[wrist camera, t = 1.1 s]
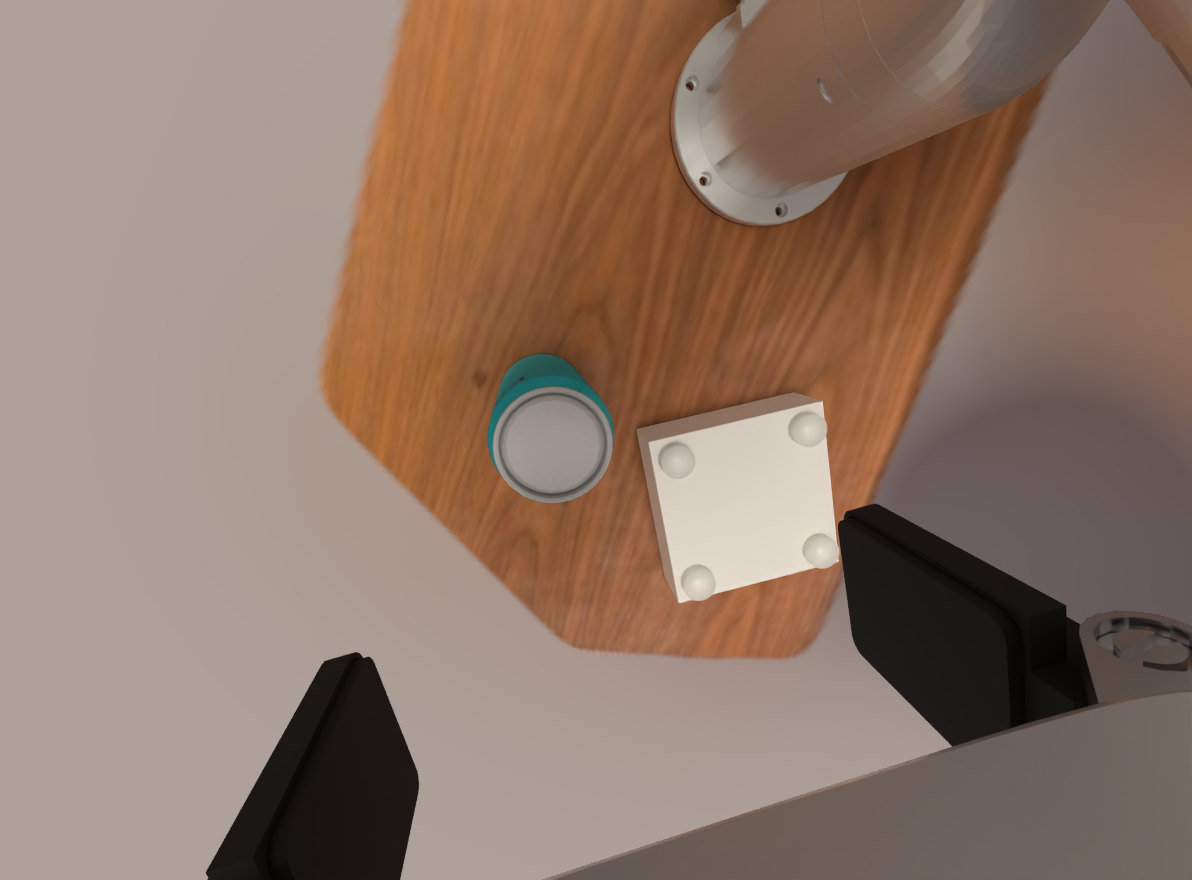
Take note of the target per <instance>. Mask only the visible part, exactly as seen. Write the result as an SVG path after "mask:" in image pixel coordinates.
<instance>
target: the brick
mask: <svg viewBox="0 0 1192 880" xmlns="http://www.w3.org/2000/svg"><path fill="white" fill-rule="evenodd" d="M636 431H637V436H638V441H639V446H640V452H641V457H642V462H643V467H644V472H645V477H646V483H647V488H648V493H649V498H650V503H651V509H652V514H653V519H654V524H655V529H656V535H657V540H658V545H659V550H660V555H661V560H662V566H663V571H664V576H665V578H666V580H667V582H668V584H669V586H670V588H671V589H672V591H673V593H674V595H675V597H676V599H677V601H678V603H682V602H686V601H689V600H695V601H702V600H705V599H707V598H709V597H710V596H711V595H712V594H716V593H720V592H724V591H728V590H732V589H735V588H739V587H743V586H747V585H751V584H755V583H758V582H762V581H766V580H770V579H774V578H778V577H781V576H785V575H789V574H793V573H797V572H801V571H804V570H808V569H812V568H820V569H824V568H828V567H830V566H832V565H833V564H834V563H835V562H839V560H838V556H839V547H838V545H837V540H836V530H835V520H834V510H833V500H832V490H831V480H830V470H829V460H828V450H827V440H826V434H827V424H826V422H825V420H824V410H823V401H821V400H818V399H814V398H811V397H808V396H805V395H802V394H799V393H795V392H792V393H788V394H783V395H779V396H775V397H771V398H766V399H762V400H758V401H754V402H749V403H745V404H741V405H737V406H732V407H728V408H724V409H719V410H715V411H711V412H707V413H702V414H698V415H694V416H690V417H685V418H681V419H677V420H673V421H668V422H664V423H660V424H655V425H651V426H647V427H643V428H638V429H636Z"/></svg>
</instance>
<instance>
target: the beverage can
mask: <svg viewBox="0 0 1192 880" xmlns="http://www.w3.org/2000/svg"><path fill="white" fill-rule="evenodd" d="M613 445H614V428H613V422H612V419H611V416H610V413H609V411H608V409H607V407H606V405H605V404H604V402H603V401H602V400H601V398H600V397H599V396H598V395H597V394H596V392H595V391H594V390H593V389H592V388H591V387H590V385H589V384H588V383H587V382H586V381H585V380H584V378H583V377H582V376H581V375H580V374H579V373H578V371H577V370H576V369H575V368H574V367H573V366H572V365H571V364H570V363H568V362H567V361H565V360H564V359H562V358H560V357H557V356H554V355H549V354H535V355H530V356H528V357H525V358H523V359H521V360H519V361H517V362H516V363H515V364H514V365H512V366H511V367H510V369H509V370H508V371H507V372H506V374H505V375H504V377H503V379H502V381H501V384H500V388H499V392H498V395H497V399H496V402H495V406H494V410H493V413H492V417H491V420H490V424H489V429H488V447H489V451H490V456H491V458H492V461H493V463H494V465H495V467H496V469H497V470H498V472H499V473H500V474H501V476H502V477H503V479H504V480H505V481H506V482H507V483H508V484H509V486H511V487H512V488H513V489H514V490H515V491H517V492H518V493H520V494H521V495H523V496H525V497H527V498H529V499H532V500H535V501H539V502H545V503H560V502H565V501H569V500H572V499H575V498H578V497H579V496H581V495H583V494H585V493H586V492H588V491H589V490H590V489H592V488H593V487H594V486H595V485H596V484H597V483H598V482H599V481H600V479H601V478H602V476H603V475H604V473H605V472H606V470H607V468H608V465H609V462H610V459H611V456H612V451H613Z"/></svg>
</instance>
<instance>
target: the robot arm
mask: <svg viewBox="0 0 1192 880" xmlns="http://www.w3.org/2000/svg"><path fill="white" fill-rule="evenodd" d="M1108 2H1109V0H740V3H739V4H738V5H737V7H736V11H735V12H734V13H732V14H731V15H729V16H727V17H726V18H724V19H723V20H721V21H719V22H718V23H717V24H716V25H715V26H714V27H713V28H712V29H711V30H710V31H708V32H707V33H706V34H705V35H704V36H703V37H702V39H701V40H700V42H699V43H698V44H697V46H696V47H695V48H694V50H693V51H692V53H691V54H690V56H689V58H688V60H687V61H686V63H685V65H684V67H683V68H682V71H681V73H680V76H679V79H678V81H677V84H676V87H675V90H674V96H673V101H672V107H671V136H672V143H673V150H674V153H675V156H676V159H677V162H678V165H679V168H680V171H681V173H682V174H683V176H684V178H685V180H686V182H687V184H688V185H689V187H690V188H691V190H692V191H693V192H694V193H695V194H696V196H697V197H698V198H699V199H700V200H701V202H703V203H704V204H705V205H706V206H707V207H709V208H710V209H711V210H712V211H714V212H715V213H716V214H718V215H720V216H722V217H724V218H726V219H728V220H730V221H733V222H736V223H740V224H743V225H747V226H771V225H777V224H782V223H785V222H788V221H792V220H795V219H797V218H799V217H801V216H803V215H805V214H807V213H809V212H811V211H813V210H814V209H815V208H817V207H818V206H819V205H820V204H822V203H823V202H824V201H826V200H827V199H828V198H829V197H830V195H831V194H832V193H833V192H834V191H835V190H836V189H837V188H838V187H839V185H840V184H841V182H842V181H843V179H844V178H845V176H846V175H847V173H848V171H849V170H852V169H854V168H857V167H859V166H861V165H864V164H866V163H869V162H871V161H873V160H876V159H878V158H881V157H883V156H885V155H888V154H890V153H893V152H895V151H897V150H900V149H902V148H905V147H907V146H909V145H912V144H914V143H917V142H919V141H921V140H924V139H926V138H929V137H931V136H933V135H936V134H938V133H941V132H943V131H945V130H948V129H950V128H953V127H955V126H957V125H960V124H962V123H965V122H967V121H969V120H971V119H973V118H976V117H978V116H980V115H983V114H985V113H987V112H990V111H992V110H994V109H996V108H998V107H1000V106H1002V105H1003V104H1005V103H1007V102H1009V101H1011V100H1013V99H1015V98H1016V97H1018V96H1019V95H1021V94H1022V93H1024V92H1025V91H1027V90H1028V89H1030V88H1031V87H1032V86H1034V85H1035V84H1037V83H1038V82H1039V81H1040V80H1042V79H1043V78H1044V77H1045V76H1046V75H1047V74H1048V73H1050V72H1051V71H1052V70H1053V69H1054V68H1055V67H1056V66H1057V65H1058V64H1059V63H1060V62H1061V61H1062V60H1063V59H1064V58H1065V57H1066V56H1067V55H1068V54H1069V53H1070V52H1071V51H1072V50H1073V48H1074V47H1075V46H1076V45H1077V44H1078V43H1079V41H1080V40H1081V39H1082V38H1083V36H1084V35H1085V34H1086V32H1087V31H1088V30H1089V28H1090V27H1091V26H1092V24H1093V23H1094V22H1095V21H1096V19H1097V18H1098V16H1099V15H1100V14H1101V12H1102V11H1103V9H1104V8H1105V6H1106V5H1107V3H1108ZM1125 2H1126V3H1127V4H1128V5H1129V6H1130V7H1131V8H1132V10H1133V11H1134V12H1135V14H1136V15H1137V16H1138V18H1139V19H1140V20H1141V22H1142V23H1143V25H1144V26H1145V27H1146V28H1147V30H1148V32H1149V33H1150V34H1151V36H1152V37H1153V38H1154V39H1155V40H1157V41H1158V42H1160V43H1161V44H1162V46H1163V47H1164V49H1165V50H1166V52H1167V53H1168V55H1169V56H1170V57H1171V59H1172V60H1173V62H1174V63H1175V65H1176V66H1177V68H1179V70H1180V72H1181V73H1182V75H1183V76H1184V78H1185V79H1186V80H1187V82H1188V83H1189V85H1190V86H1191V88H1192V0H1125ZM686 85H690V86H691V88H692V91H689V90H688V89H687V88H686ZM700 178H702V179H704V181H705V185H704V186H702V185H701V184H700V182H699V179H700ZM775 209H778V211H779V214H778V216H777V215H776V212H775ZM838 532H839V540H840V547H841V555H842V562H843V570H844V578H845V584H846V593H847V600H848V608H849V615H850V623H851V630H852V637H853V640H854V643H855V645H856V647H857V649H858V651H859V652H860V654H861V655H862V656H863V657H864V658H865V659H866V660H867V661H868V662H869V663H870V664H871V665H872V666H873V667H874V668H875V669H876V670H877V671H878V672H879V673H880V674H881V675H882V676H883V677H884V678H885V679H886V680H887V681H888V682H889V683H890V684H891V685H892V686H893V687H894V688H895V689H896V690H897V691H898V692H899V693H900V694H901V695H902V696H903V697H904V698H905V699H906V700H907V701H908V702H909V703H910V704H911V705H912V706H913V707H914V708H915V709H916V710H917V711H918V712H919V713H920V714H921V715H922V716H923V717H924V718H925V719H926V720H927V721H928V722H929V723H930V724H931V725H932V726H933V727H934V728H935V729H936V730H937V731H938V732H939V733H940V734H941V735H942V736H943V737H944V738H945V739H946V740H947V741H948V742H949V744H950V745H951V746H952V747H950V748H947V749H944V750H941V751H938V752H935V753H931V754H928V755H926V756H922V757H919V758H916V759H913V760H909V761H906V762H903V763H900V764H897V765H894V766H891V767H888V768H885V769H881V770H878V771H875V772H872V773H869V774H866V775H863V776H860V777H856V778H853V779H850V780H847V781H844V782H840V783H837V784H835V785H831V786H828V787H825V788H822V789H818V790H815V791H812V792H809V793H806V794H803V795H800V796H797V797H793V798H791V799H787V800H784V801H781V802H778V803H775V804H772V805H769V806H766V807H763V808H760V809H757V810H753V811H750V812H747V813H744V814H741V815H738V816H735V817H732V818H729V819H726V820H723V821H720V822H716V823H713V824H710V825H707V826H705V827H701V828H698V829H695V830H692V831H689V832H686V833H683V834H680V835H677V836H674V837H671V838H668V839H664V840H662V841H658V842H655V843H653V844H649V845H646V846H643V847H640V848H637V849H634V850H631V851H628V852H625V853H622V854H619V855H616V856H612V857H609V858H607V859H603V860H600V861H597V862H594V863H591V864H588V865H586V866H582V867H579V868H576V869H573V870H570V871H567V872H564V873H561V874H558V875H556V876H552V877H549V878H546V879H543V880H1192V626H1191V625H1189V624H1186V623H1184V622H1181V621H1179V620H1175V619H1172V618H1168V617H1165V616H1161V615H1157V614H1150V613H1144V612H1137V611H1111V612H1104V613H1098V614H1096V615H1093V616H1091V617H1088V618H1086V620H1085V621H1084V622H1083V623H1082V624H1079V623H1077V622H1075V621H1073V620H1072V619H1070V618H1068V617H1066V605H1064V604H1062V603H1060V602H1058V601H1057V600H1055V599H1053V598H1051V597H1049V596H1047V595H1046V594H1044V593H1042V592H1040V591H1038V590H1036V589H1034V588H1032V587H1031V586H1028V585H1027V584H1025V583H1023V582H1021V581H1020V580H1018V579H1016V578H1014V577H1012V576H1010V575H1008V574H1007V573H1005V572H1003V571H1001V570H999V569H997V568H995V567H994V566H991V565H990V564H988V563H986V562H984V561H982V560H980V559H979V558H977V557H975V556H973V555H971V554H969V553H968V552H966V551H964V550H962V549H960V548H958V547H956V546H954V545H953V544H951V543H949V542H947V541H945V540H943V539H941V538H940V537H938V536H936V535H934V534H932V533H930V532H928V531H926V530H925V529H923V528H921V527H919V526H917V525H915V524H914V523H912V522H910V521H908V520H906V519H904V518H902V517H901V516H899V515H897V514H895V513H893V512H891V511H889V510H888V509H886V508H884V507H882V506H880V505H878V504H871V505H868V506H864V507H861V508H857V509H854V510H850V511H847V512H846V513H845V516H844V520H842V521H840V522H839V524H838ZM418 790H419V780H418V773H417V770H416V767H415V764H414V762H413V759H412V757H411V754H410V752H409V749H408V746H407V744H406V741H405V739H404V736H403V734H402V731H401V729H400V726H399V724H398V722H397V719H396V716H395V714H394V711H393V709H392V706H391V704H390V701H389V699H388V696H387V694H386V691H385V689H384V687H383V684H382V681H381V678H380V676H379V673H378V671H377V668H376V666H375V664H374V662H373V660H372V659H371V658H370V657H366V658H363V657H362V656H361V654H360V653H357V652H355V653H351V654H348V655H344V656H341V657H337V658H334V659H330V660H327V661H324V663H323V664H322V665H321V667H320V669H319V670H318V672H317V674H316V676H315V678H314V680H313V681H312V683H311V685H310V687H309V688H308V690H307V692H306V694H305V696H304V698H303V699H302V701H301V703H300V705H299V707H298V708H297V710H296V712H295V713H294V716H293V718H292V719H291V721H290V722H289V724H288V726H287V728H286V730H285V732H284V733H283V735H282V737H281V739H280V740H279V742H278V744H277V746H276V748H275V749H274V751H273V753H272V755H271V757H270V758H269V760H268V762H267V764H266V766H265V767H264V769H263V771H262V773H261V774H260V776H259V778H258V780H257V782H256V784H255V785H254V787H253V789H252V791H251V793H250V794H249V796H248V798H247V800H246V801H245V803H244V805H243V807H242V809H241V810H240V812H239V814H238V816H237V818H236V819H235V821H234V823H233V825H232V827H231V828H230V830H229V832H228V834H227V835H226V837H225V839H224V841H223V843H222V845H221V846H220V848H219V850H218V852H217V854H216V855H215V857H214V859H213V861H212V862H211V864H210V866H209V868H208V869H207V871H206V874H207V876H208V880H400V877H401V872H402V868H403V863H404V859H405V854H406V849H407V844H408V839H409V834H410V830H411V825H412V820H413V816H414V810H415V806H416V801H417V796H418Z"/></svg>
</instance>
